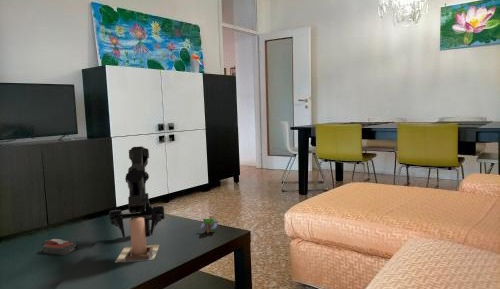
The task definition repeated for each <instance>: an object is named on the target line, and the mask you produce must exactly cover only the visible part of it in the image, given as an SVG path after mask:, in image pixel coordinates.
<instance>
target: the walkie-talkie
mask: <svg viewBox="0 0 500 289" xmlns="http://www.w3.org/2000/svg"><path fill="white" fill-rule="evenodd" d="M43 243H44V244H43V245H42V246H41V247H42V248H41V250H42V253H43V254H53V255H60V256H61V255H62V256H65V255H68V254H70V253H73V252H74V251H77V249H80V245H78V244H77V242H69V241H68V240H64V239H60V238H52V239H50V240H47V239H45V240H44V241H43Z"/></svg>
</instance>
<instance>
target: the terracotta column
mask: <svg viewBox="0 0 500 289" xmlns="http://www.w3.org/2000/svg"><path fill="white" fill-rule="evenodd" d="M128 223H129V232H130V247H131V248H132V256H136V255H147V247H146V246H147V236H146V234H145V221H144V218H143V217H137V218H132V219H131V218H129V222H128Z"/></svg>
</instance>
